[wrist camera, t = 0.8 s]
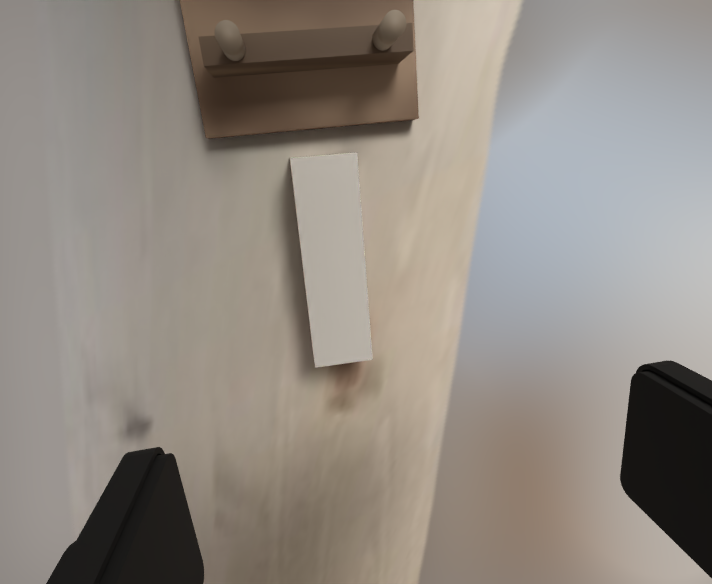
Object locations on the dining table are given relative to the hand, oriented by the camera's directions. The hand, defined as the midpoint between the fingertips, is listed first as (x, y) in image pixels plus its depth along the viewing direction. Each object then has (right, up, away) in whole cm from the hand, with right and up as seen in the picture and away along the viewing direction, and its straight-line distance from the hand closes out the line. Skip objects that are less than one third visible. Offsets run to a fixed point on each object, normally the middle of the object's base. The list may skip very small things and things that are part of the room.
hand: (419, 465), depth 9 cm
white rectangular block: (-3, +6, +19) cm, 20 cm away
